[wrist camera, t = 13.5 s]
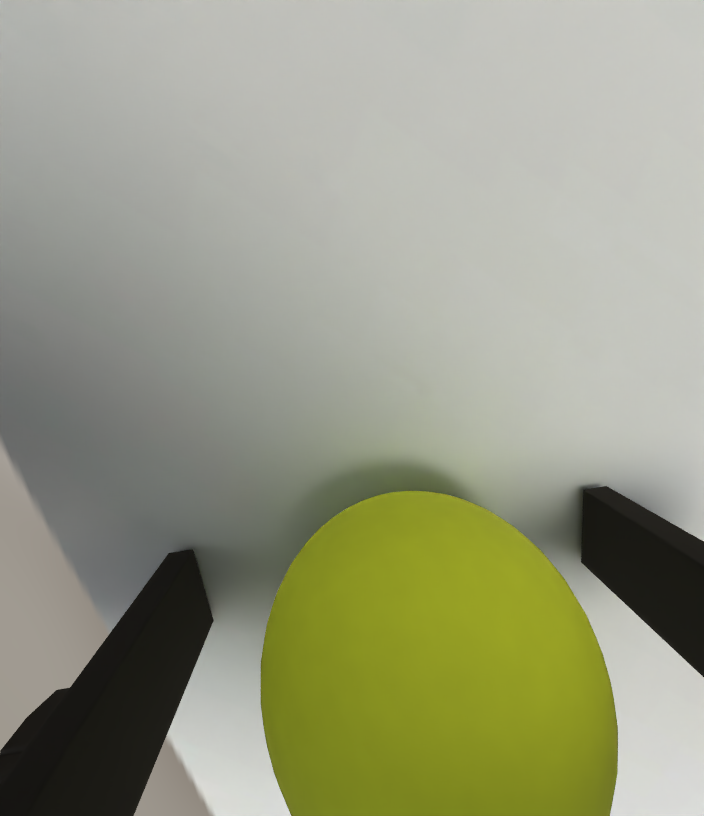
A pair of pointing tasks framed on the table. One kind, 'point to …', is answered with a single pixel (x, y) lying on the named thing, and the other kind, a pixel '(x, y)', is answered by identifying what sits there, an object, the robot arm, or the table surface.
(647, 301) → the table surface
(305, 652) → the tennis ball
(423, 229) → the table surface
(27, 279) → the table surface
